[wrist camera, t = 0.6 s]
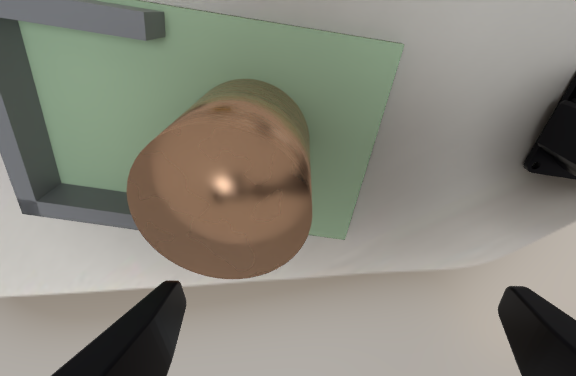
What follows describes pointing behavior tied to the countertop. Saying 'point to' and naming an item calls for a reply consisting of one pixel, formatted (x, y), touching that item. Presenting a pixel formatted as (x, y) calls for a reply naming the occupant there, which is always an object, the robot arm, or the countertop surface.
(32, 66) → the green
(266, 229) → the copper metal cylinder
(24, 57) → the shallow gray tray
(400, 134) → the countertop surface
